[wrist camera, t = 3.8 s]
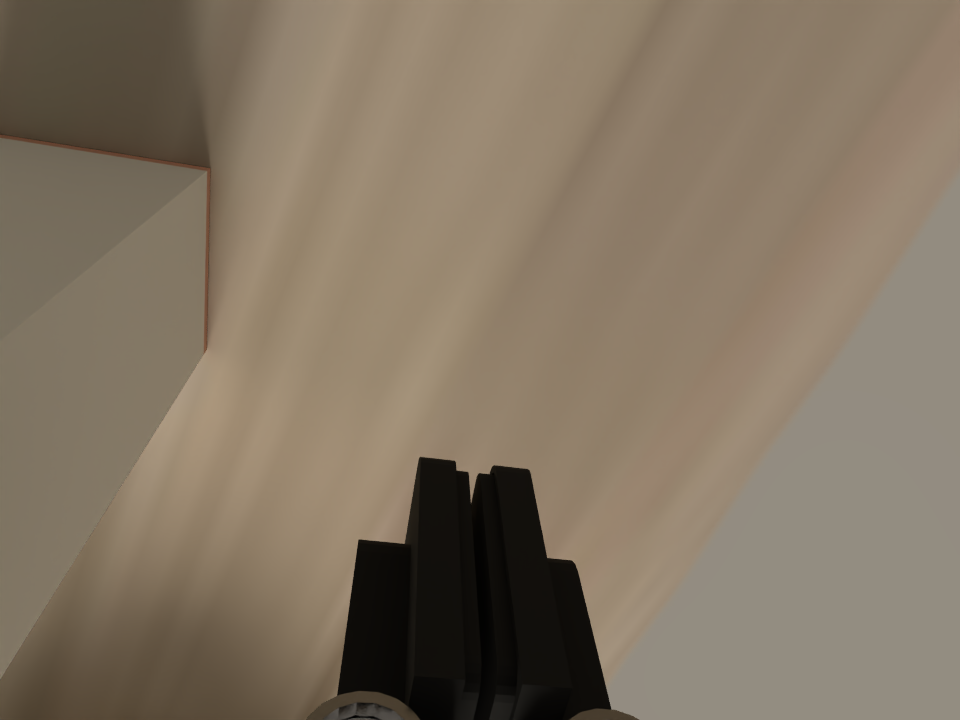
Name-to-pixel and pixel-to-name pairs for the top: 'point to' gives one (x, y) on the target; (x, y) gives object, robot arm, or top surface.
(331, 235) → the top surface
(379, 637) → the robot arm
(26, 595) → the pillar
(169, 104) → the top surface
